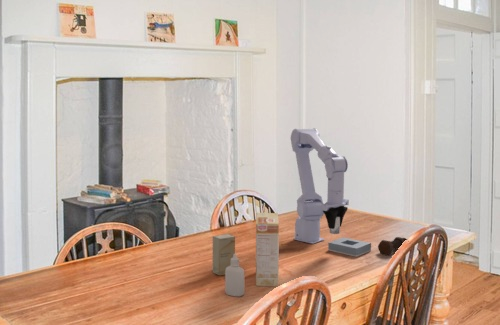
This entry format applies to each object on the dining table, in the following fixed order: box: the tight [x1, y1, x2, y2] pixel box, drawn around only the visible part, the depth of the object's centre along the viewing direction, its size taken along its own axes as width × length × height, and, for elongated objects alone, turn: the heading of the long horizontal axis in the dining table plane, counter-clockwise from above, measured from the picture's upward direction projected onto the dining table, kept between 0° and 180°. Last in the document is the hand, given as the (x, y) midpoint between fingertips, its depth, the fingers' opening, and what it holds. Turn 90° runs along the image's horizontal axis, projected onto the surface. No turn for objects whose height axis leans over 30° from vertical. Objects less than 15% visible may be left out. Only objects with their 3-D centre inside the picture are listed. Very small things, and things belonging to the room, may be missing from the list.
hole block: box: [327, 236, 372, 258], centre depth 211 cm, size 12×10×3 cm
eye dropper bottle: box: [224, 253, 245, 298], centre depth 166 cm, size 4×6×12 cm
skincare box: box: [212, 233, 236, 276], centre depth 186 cm, size 6×4×12 cm
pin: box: [329, 216, 341, 235], centre depth 208 cm, size 4×4×6 cm
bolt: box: [377, 236, 408, 256], centre depth 212 cm, size 6×5×15 cm
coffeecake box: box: [255, 212, 280, 287], centre depth 180 cm, size 15×7×20 cm, turn 178°
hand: (334, 227), depth 208 cm, fingers closed on pin, 4 cm apart
